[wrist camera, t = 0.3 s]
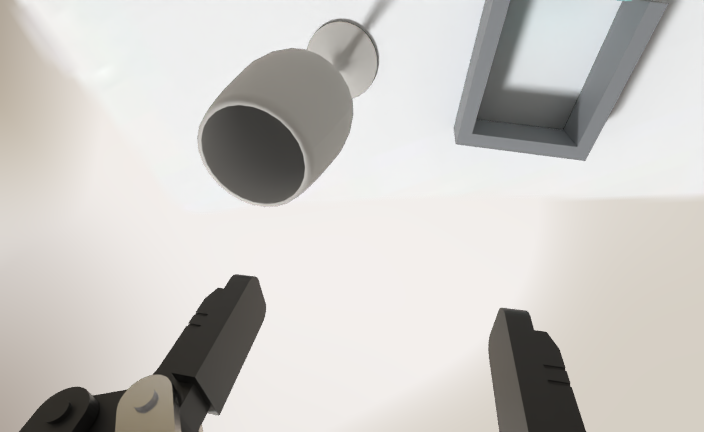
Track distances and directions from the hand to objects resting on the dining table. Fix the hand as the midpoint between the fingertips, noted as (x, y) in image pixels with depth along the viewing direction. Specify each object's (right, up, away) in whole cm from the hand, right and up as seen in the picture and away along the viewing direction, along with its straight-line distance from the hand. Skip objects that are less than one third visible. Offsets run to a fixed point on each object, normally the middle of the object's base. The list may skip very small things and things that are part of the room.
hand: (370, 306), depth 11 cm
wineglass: (-2, +18, +22) cm, 29 cm away
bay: (+16, +17, +19) cm, 30 cm away
